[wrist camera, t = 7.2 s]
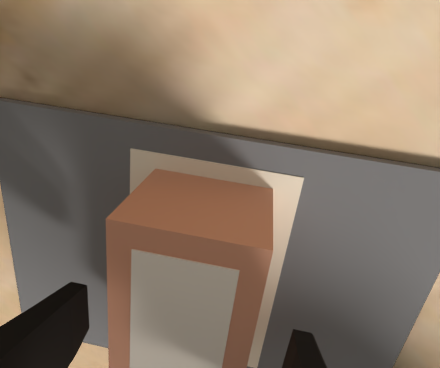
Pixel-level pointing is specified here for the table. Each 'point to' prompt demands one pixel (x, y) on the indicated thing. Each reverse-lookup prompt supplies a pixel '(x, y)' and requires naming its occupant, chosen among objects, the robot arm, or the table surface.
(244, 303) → the pink box with label
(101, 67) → the table surface
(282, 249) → the charcoal mat
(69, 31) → the table surface
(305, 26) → the table surface
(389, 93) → the table surface
